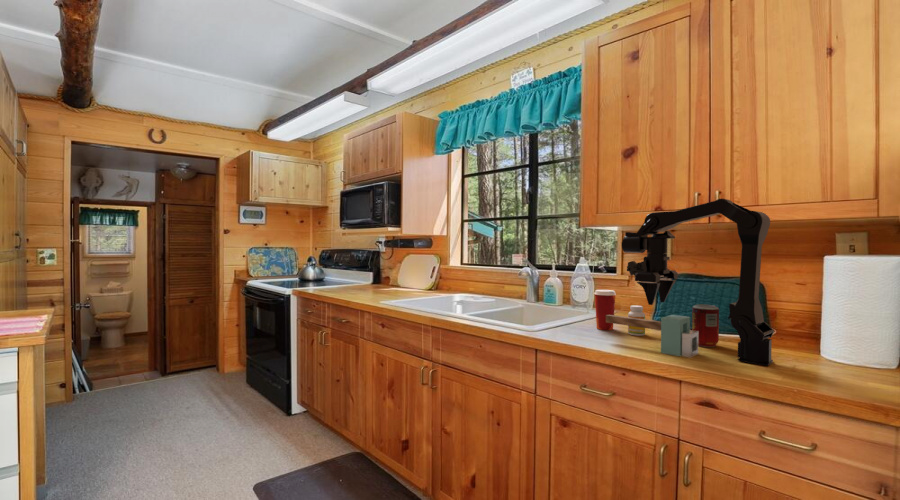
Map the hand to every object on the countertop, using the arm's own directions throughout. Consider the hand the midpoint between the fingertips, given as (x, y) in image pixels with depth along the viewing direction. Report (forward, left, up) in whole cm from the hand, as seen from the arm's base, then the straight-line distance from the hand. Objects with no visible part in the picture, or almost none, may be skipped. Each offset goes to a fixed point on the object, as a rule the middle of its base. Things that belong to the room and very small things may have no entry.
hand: (656, 303), depth 132 cm
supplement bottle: (+10, -9, -13) cm, 19 cm away
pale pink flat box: (-12, +7, -13) cm, 19 cm away
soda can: (-11, -9, -13) cm, 19 cm away
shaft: (+3, +7, -7) cm, 10 cm away
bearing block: (-8, +7, -12) cm, 16 cm away
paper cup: (+22, -10, -13) cm, 27 cm away
